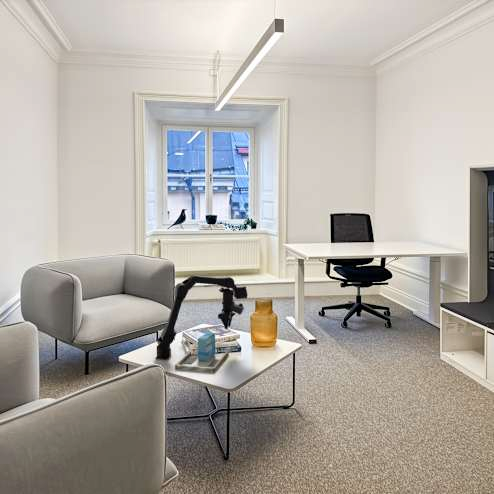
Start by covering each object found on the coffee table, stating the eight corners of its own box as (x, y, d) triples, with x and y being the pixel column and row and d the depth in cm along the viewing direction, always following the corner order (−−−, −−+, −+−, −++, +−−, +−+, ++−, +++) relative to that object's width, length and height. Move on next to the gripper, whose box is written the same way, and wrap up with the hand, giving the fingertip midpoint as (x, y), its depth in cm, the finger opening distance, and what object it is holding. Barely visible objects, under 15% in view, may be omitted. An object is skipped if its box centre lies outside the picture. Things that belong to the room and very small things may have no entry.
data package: (205, 362, 239) (205, 339, 238) (197, 361, 241) (197, 338, 239) (215, 354, 250) (215, 332, 249) (207, 353, 252) (207, 332, 250)
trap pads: (183, 363, 237) (183, 362, 236) (189, 357, 245) (189, 356, 245) (216, 366, 233) (216, 365, 233) (221, 360, 241) (221, 359, 241)
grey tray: (175, 369, 229) (175, 365, 229) (192, 351, 254) (192, 348, 254) (214, 372, 225) (214, 368, 224) (228, 354, 250) (228, 351, 250)
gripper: (238, 304, 242) (238, 333, 244) (246, 296, 260) (246, 324, 262) (217, 303, 245) (217, 332, 246) (227, 295, 263) (226, 322, 264)
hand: (227, 327), depth 255 cm, fingers open, 5 cm apart
